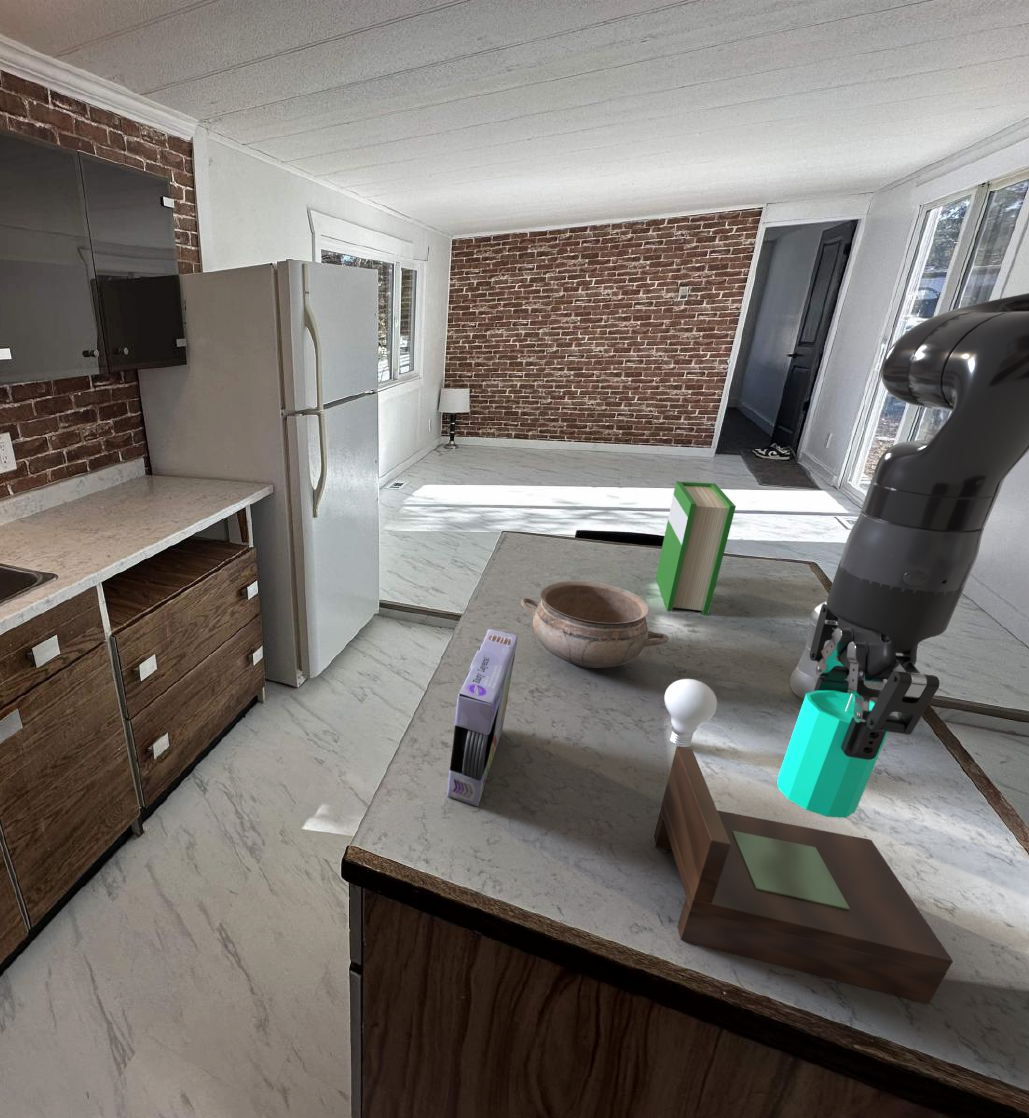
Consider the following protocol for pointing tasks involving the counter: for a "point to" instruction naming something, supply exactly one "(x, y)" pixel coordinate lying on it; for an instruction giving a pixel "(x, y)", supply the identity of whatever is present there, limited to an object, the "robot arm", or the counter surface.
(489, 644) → the cake pan box
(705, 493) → the hardback book
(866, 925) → the shelf
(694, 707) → the lightbulb
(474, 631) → the counter surface
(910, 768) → the counter surface
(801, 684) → the plastic bottle
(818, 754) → the candle
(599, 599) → the cooking pot
